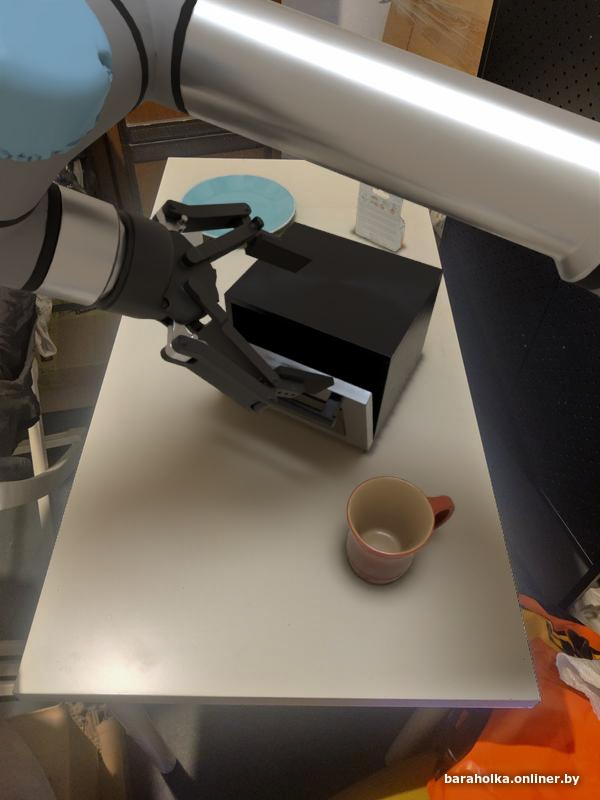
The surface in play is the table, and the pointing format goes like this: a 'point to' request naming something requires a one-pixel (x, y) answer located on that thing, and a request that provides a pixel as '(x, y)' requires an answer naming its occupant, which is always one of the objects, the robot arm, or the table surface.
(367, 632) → the table surface
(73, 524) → the table surface
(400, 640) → the table surface
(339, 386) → the door
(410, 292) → the box
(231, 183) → the plate
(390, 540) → the mug
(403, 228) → the ink box
